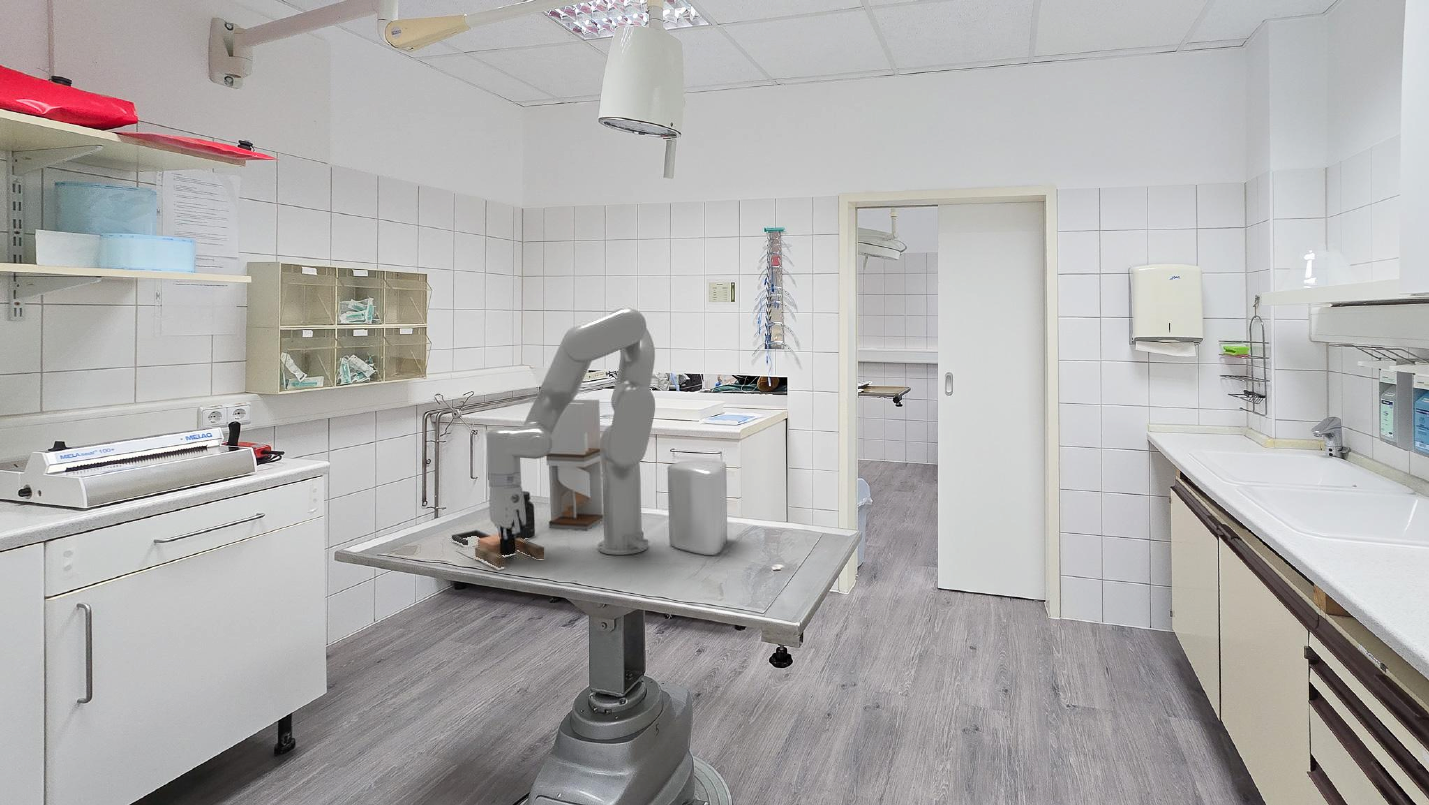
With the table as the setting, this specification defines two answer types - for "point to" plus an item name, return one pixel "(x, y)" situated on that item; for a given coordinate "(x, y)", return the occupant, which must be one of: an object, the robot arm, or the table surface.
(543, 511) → the table surface
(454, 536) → the black u-shaped bracket
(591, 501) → the display case
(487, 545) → the block
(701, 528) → the grey rounded upright block
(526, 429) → the robot arm
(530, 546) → the channel
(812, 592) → the table surface
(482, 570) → the table surface
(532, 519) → the supplement bottle
